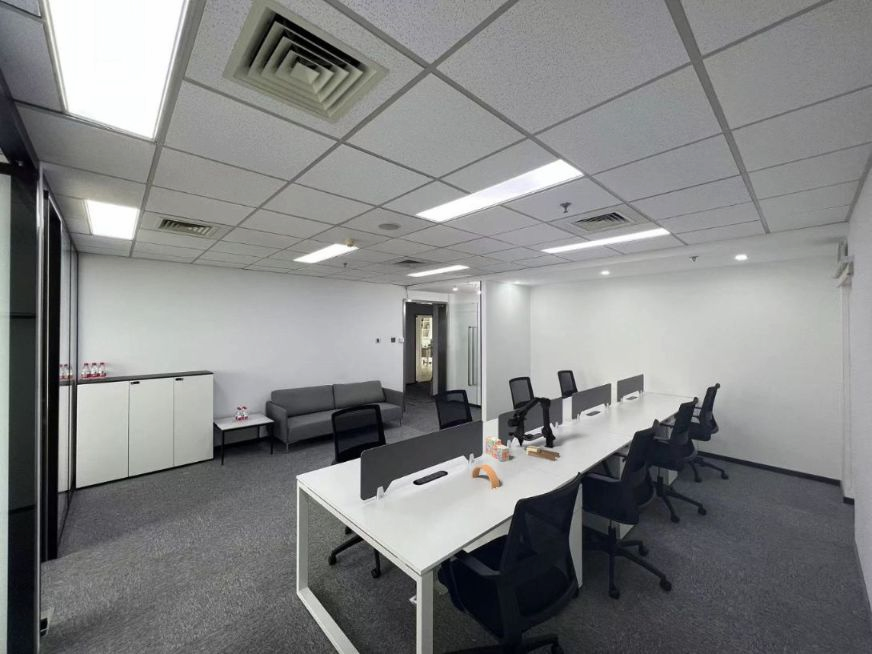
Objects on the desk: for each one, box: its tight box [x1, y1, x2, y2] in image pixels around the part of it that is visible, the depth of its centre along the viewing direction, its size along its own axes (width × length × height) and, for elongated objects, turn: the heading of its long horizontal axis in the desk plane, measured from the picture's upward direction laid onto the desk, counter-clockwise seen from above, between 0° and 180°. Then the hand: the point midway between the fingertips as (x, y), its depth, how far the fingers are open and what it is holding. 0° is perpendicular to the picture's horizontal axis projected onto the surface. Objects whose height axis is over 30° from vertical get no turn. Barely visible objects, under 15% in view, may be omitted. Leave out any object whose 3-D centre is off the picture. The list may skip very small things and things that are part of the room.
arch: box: [471, 464, 500, 490], centre depth 216 cm, size 6×20×10 cm, turn 32°
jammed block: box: [526, 445, 541, 455], centre depth 265 cm, size 6×8×4 cm
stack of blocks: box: [485, 436, 510, 463], centre depth 260 cm, size 21×6×12 cm, turn 25°
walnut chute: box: [527, 448, 560, 462], centre depth 260 cm, size 10×20×3 cm, turn 52°
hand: (520, 445), depth 271 cm, fingers closed
